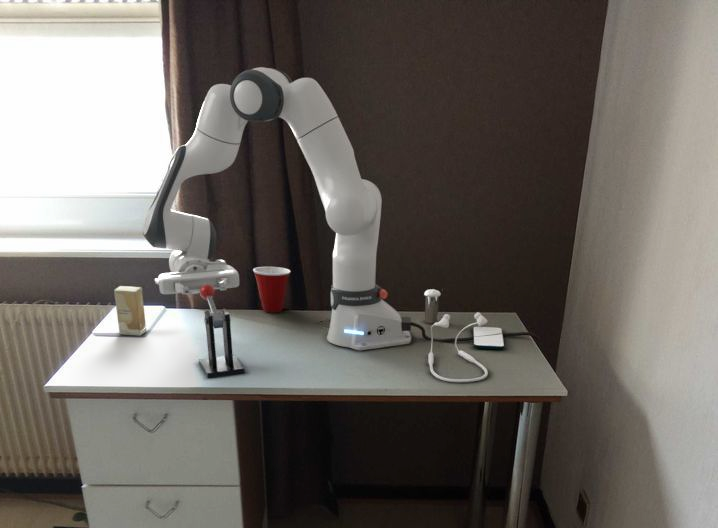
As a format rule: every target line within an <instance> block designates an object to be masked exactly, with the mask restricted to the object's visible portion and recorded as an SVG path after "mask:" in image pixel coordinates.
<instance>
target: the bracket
mask: <svg viewBox="0 0 718 528" xmlns="http://www.w3.org/2000/svg"><path fill="white" fill-rule="evenodd" d="M220 312H221V314H222V317H223V320H224V322H223V328H222V338H223V340H222V341H223V351H224V352H223V353H224V355H222V356H217V351H216V340H215V328H214V326H213V316H212V313H211V312H210V310H204V312H203V313H204V318H203V320H204V321H203V322H204V325H205V333H206V343H207V352H208V353H207V355H208V357H206V358H198V365H199V366H200V368H201V369H202V371H203V373H204V374H205V376H206V377H207V379H211V378H212V379H213V378H219V377H225V376H232V375H240V374H245V373H246V371H245V367H244V366H243V365H242V363H241V362H240V360H239V359H238V358H237V357H236V355H235V354H234V353H233V341H232V331H231V330H232V329H231V328H232V327H231V320H232V319H231V316H230V313H229V312H228V311H227V309H226V308H223V309H222V308H221V309H220Z"/></svg>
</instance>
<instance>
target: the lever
mask: <svg viewBox="0 0 718 528" xmlns="http://www.w3.org/2000/svg"><path fill="white" fill-rule="evenodd" d="M215 294H216V289H214V288H213V287H212V286H211V285H208V284H206V285H203V286H202V287H201V289H200V293H199V295H200V297H201V298H202V299H203V300H206V301H207V304H208V306H209V309H210V311H211V312H210V313H211V315H212V316H213V327H214V329H220V328H221V329H223V322H224V320H223V317H222V314H221V311H218V310H217V307H216V303H215V301H214V297H215Z"/></svg>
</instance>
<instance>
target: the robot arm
mask: <svg viewBox="0 0 718 528" xmlns="http://www.w3.org/2000/svg"><path fill="white" fill-rule="evenodd" d="M278 118H279V119H283V120H284V121H285V122H286V123H287V124H288V126H289V127H290V129H291V131H292V133H293V135H294V137H295V140H296V142H297V144H298V146H299V147H300V150H301V152H302V154H303V156H304V159H305V160H306V162H307V164H308V166H309V168H310V170H311V173H312V175H313V178H314V181H315V185H316V187H317V191H318V194H319V197H320V200H321V203H322V205H323V208H324V211H325V219H326V222H327V226H329V228H330V229H331V230H332V231H333V232H334V233H335V239H334V247H333V250H332V284H331V286H330V307H331V316H330V322H329V328H328V332H327V336H326V340H327V341H328V342H329V343H330V344H332V345H335V346H339V347H344V348H350V349H352V350H355V351H369V350H374V349H382V348H387V347H396V346H402V345H409V344H410V343H411V342H412V334H411V333H410V332H411V331H412V330H411V329H412V327H415V328H418V329H419V330H420V331H421V335H422V338H423V339H425V340H426V341H431V342H432V337H429V336H428V335H426V330H425V327H424V326H422V325H420V324H419V323H416V322H413V321H412V319H411V317H410V316H401V314H400V313H399V312H398V311H397V310H396V309H395V308H394V307H393V306H391V305H390V304H389V303H388V302H386V301H385V300H384V299H387V298H388V295H389V294H388V293H389V292H387V290H386V289H384V288H382V287H381V286H379V285H378V284H376V277H377V275H376V273H377V252H378V251H377V250H378V244H379V235H380V226H381V225H380V224H381V217H382V205H383V204H382V203H383V201H382V200H383V199H382V193H381V191H380V188H379V187H378V186H377V184H375V183H374V182H372V181H370V180H367V179H363V178H362V176H361V174H360V170H359V167H358V164H357V160H356V156H355V151H354V148H353V146H352V143H351V141H350V139H349V137H348V135H347V133H346V131H345V128H344V126H343V124H342V122H341V119H340V117H339V115H338V113H337V111H336V109H335V108H334V106H333V103H332V102H331V100H330V98H329V97H328V95H327V93H326V92H325V91H324V89H323V88H322V86H321V85H320V84H319V83H318V81H317V80H315V79H314V78H312V77H301V78H298V79H295V80H294V81H292V79H291V78H290V77H289V75H287V73H286V72H284V71H282V70H281V69H278V68H276V67H264V66H263V67H262V66H259V67H255V68H252V69H246V70H243V71H242V72H240V73H239V74H238V75H236V77H235V78H234V79H233V81H232V83H231V84H228V83H226V84H225V83H217V84H214V85H212V86H211V87H210V89H209V90H208V91H207V94H206V95H205V97H204V100H203V103H202V105H201V109H200V111H199V115H198V118H197V121H196V126H195V130H194V132H193V134H192V136H191V138H190V139H189V140H188V141H187V142H186V144H183V145H180V146H178V147H177V148H176V150H175V151H174V153H173V155H172V157H171V159H170V161H169V163H168V166H167V168H166V170H165V172H164V174H163V177H162V180H161V181H160V185H159V187H158V190H157V191H156V194H155V196H154V199H153V201H152V204H151V205H150V206H149V209H148V211H147V213H146V215H145V217H144V219H143V224H142V235H143V237H144V238H145V240H146V241H147V242H148V244H150V246H152V247H153V248H158V249H167V250H173V251H172V252H171V253H170V255H169V259H168V266H169V271H170V272H163V273H160V274H159V275H158V276H157V277H156V278H154V283H155V284H156V285H158V288H159V294H162V295H173V294H182V295H189V294H194V295H197V294H200V289H201V287H202V286H203V285H206V284H208V285H211V286H212V287H213V288H214V290H220V291H227V289H231V288H238V287H239V286H240V274H239V272H238V270H237V269H235V268H234V267H233V266H232V265H229V264H227V261H226V260H224V259H213V257H214V255H215V250H216V246H217V232H216V229H215V226H214V224H213V223H212V221H211V220H210V219H209V218H208V217H202V216H199V215H195V214H190V213H185V212H181V211H178V210H173V209H172V207H173V204H174V202H175V200H176V197H177V195H178V192H179V191H180V188H181V187H182V184H183V183H184V182H185V181H186V180H188V179H190V178H192V177H196V176H200V175H210V174H217V173H221V172H223V171H225V170H226V169H229V167H231V166H232V165H233V164H234V162H235V160H236V158H237V156H238V152H239V149H240V145H241V141H242V138H243V133H244V131H245V127H246V125H247V123H248V122H251V123H262V122H269V121H273V120H276V119H278ZM500 334H503V337H520V336H529V337H531V338H534V339H535V340H536V341H541V340H542V339H541V338H540V337H539V336H538V335H537V334H535V333H533V332H530V331H520V332H519V331H518V332H502V333H500ZM493 335H498V334H493ZM485 336H490V335H485ZM476 337H479V336H476ZM473 338H474V337H473V336H469V337H458V338H457V341H456V342H470V341H473ZM455 340H456V337H451V338H440V339H439V338H436V339H435V338H433V342H439V343H452V342H454V343H455Z"/></svg>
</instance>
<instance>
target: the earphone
mask: <svg viewBox="0 0 718 528" xmlns="http://www.w3.org/2000/svg"><path fill="white" fill-rule="evenodd" d="M473 316H474V319H475V320H476V322H473V323H470V324H468V325H466V326H464V327H463V328H462V329H461V330H460V331H459V332H458V333H457V335H456V337H455V338H456V340H455V341H454V346H455V349H456V351H457V353H458V354H457V355H458V356H459V357H462V358H463V359H465V360H466V361H468V362H469V363H472V364H475V365H477V366H478V367H479V368H481V370H483V372H484V374H483V375H482V376H479V377H474V378H464V379H463V378H462V379H461V378H460V379H456V378H448V377H445V376H442V375H439V374H437V373H436V372H435V371H434V366H433V365H434V355H435V354H434V353H433V345H434V341H433V339H434V334H433V328H434V327H441V328H444V329H448V328H449V326H450V319H451V315H450V314H448V313H445V314H444V315H442V318H441V319H440V320H439V321H437V322H436V323H433V324H431V326H430V335H431V338H432V341H431V345H430V352H428V356H427V360H428V361H427V363H428V365H429V370H430V373H431V374H432V375H433V376H434V377H435V378H436V379H438V380H440V381H444V382H449V383H462V384H463V383H474V382H479V381H482V380H484V379H486V378H487V377H488V375H489V371H488V368H486V366H484V365H483V364H482V363H480V362H479V361H477V359H475V357H473V356H472V355H470V354H469V353H467V352H466V351H464V350H459V348H458V346H457V342H458V341H457V338H459V336H460V335H461V333H462V332H463V331H464V330H466V329H467V328H469V327H471V326H474V325H477V327H483V326H484V325H486V324H488V319H487V318H486V317H485V316H484V315H482V313H481V312H479V311H477V312H476V313H475V314H474V315H473Z"/></svg>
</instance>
